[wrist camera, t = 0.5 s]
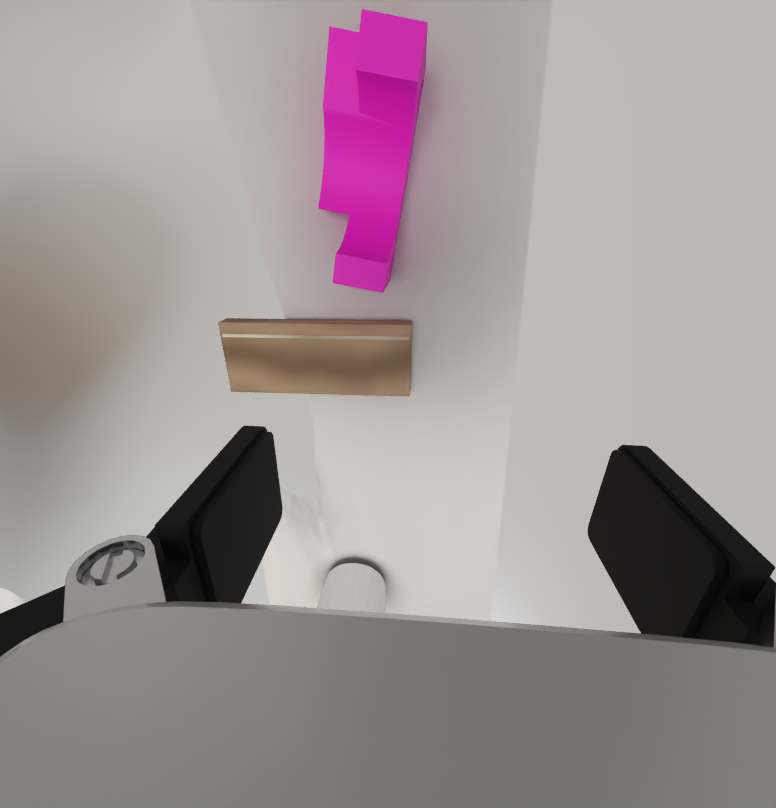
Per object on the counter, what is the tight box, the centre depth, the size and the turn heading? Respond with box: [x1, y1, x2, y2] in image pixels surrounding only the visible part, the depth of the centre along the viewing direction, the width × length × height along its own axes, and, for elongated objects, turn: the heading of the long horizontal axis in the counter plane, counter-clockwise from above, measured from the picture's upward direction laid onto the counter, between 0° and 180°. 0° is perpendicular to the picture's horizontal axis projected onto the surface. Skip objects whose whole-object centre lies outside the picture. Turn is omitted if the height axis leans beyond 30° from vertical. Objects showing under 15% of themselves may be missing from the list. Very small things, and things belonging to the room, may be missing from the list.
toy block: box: [318, 9, 427, 292], centre depth 28 cm, size 15×6×8 cm, turn 170°
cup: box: [317, 563, 386, 613], centre depth 44 cm, size 8×8×14 cm
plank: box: [218, 318, 412, 396], centre depth 37 cm, size 7×18×2 cm, turn 90°
